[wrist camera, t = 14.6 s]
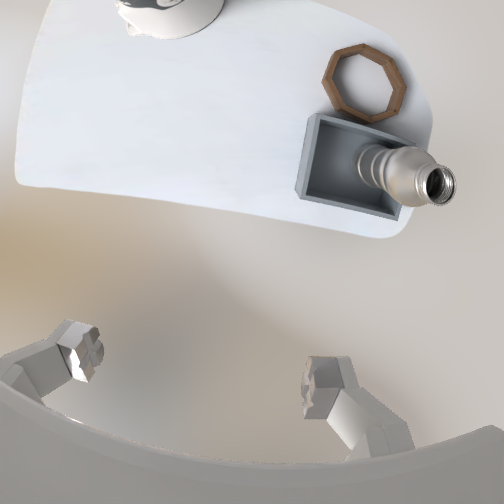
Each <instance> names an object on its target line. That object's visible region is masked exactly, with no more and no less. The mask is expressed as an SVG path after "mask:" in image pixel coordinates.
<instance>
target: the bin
mask: <svg viewBox="0 0 504 504" xmlns="http://www.w3.org/2000/svg"><path fill="white" fill-rule="evenodd" d="M369 143H376V144H380V145H382V146H384V147H386V148H388V149H397V148H401V147H408V146H412V147H415V143H412V142H410V141H407V140H404V139H402V138H399V137H396V136H393V135H390V134H388V133H385V132H382V131H379V130H376V129H372V128H369V127H366V126H363V125H359V124H356V123H353V122H349V121H345V120H342V119H338V118H334V117H330V116H326V115H322V114H318V113H316V114H314V115H313V116H311V117H309V118H308V123H307V128H306V134H305V139H304V145H303V150H302V155H301V161H300V166H299V171H298V176H297V181H296V186H295V191H296V193H297V194H298V196H299V198H300V199H303V200H308V201H313V202H318V203H323V204H327V205H332V206H337V207H341V208H346V209H350V210H354V211H359V212H363V213H367V214H371V215H375V216H379V217H383V218H387V219H391V220H395V221H398V218H399V214H400V210H401V207H402V204H400V203H399V202H397V201H396V200H395V199H393V198H392V197H391V196H390V195H389V194H388V193H387V192H386V191H385V190H383V189H381V188H371V187H367V186H365V185H363V184H361V183H360V182H359V181H358V180H357V178H356V177H355V176H354V174H353V172H352V168H351V159H352V156H353V154H354V152H355V151H356V150H357V149H358V148H359V147H361V146H363V145H365V144H369Z"/></svg>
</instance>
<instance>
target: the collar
mask: <svg viewBox="0 0 504 504" xmlns="http://www.w3.org/2000/svg"><path fill="white" fill-rule="evenodd" d="M356 54H360V55H362V56H364V57H366V58H368V59H370V60H372V61H374V62H376V63H378V64H379V65H381V66H382V67H383V69H384V71H385V73H386V75H387V77H388V79H389V81H390V83H391V85H392V87H393V92H392V95H391V98H390V101H389V104H388V107H387V110H386V111H385V112H382V113H379V114H376V115H373V116H370V117H369V116H367V115H365V114H363V113H361V112H359V111H357V110H355V109H353V108H351V107H349V106H347V105H345V104H344V102H343V100H342V98H341V96H340V94H339V92H338V90H337V88H336V86H335V84H334V82H333V80H332V76H333V73H334V70H335V67H336V65H337V62H338V59H342V58H345V57H349V56H352V55H356ZM322 84H323V86H324V88H325V90H326V92H327V94H328V96H329V98H330V100H331V102H332V104H333V107H334V109H335V111H337V112H339V113H342V114H344V115H346V116H348V117H350V118H352V119H355V120H357V121H359V122H361V123H363V124H369V123H373V122H376V121H379V120H382V119H385V118H388V117H391V116H394V115H397V114H398V112H399V109H400V106H401V103H402V100H403V97H404V94H405V91H406V88H407V87H406V85H405V83H404V81H403V79H402V77H401V74H400V72H399V70H398V68H397V66H396V64H395V62H394V60H393V59H392V58H391V57H389V56H387V55H385V54H383V53H382V52H380V51H378V50H376V49H374V48H372V47H370V46H368V45H366V44H364V43H363V44H359V45H355V46H351V47H347V48H344V49H340V50H337V51H335V52H334V53H333V55H332V56H331V58H330V61H329V63H328V66H327V69H326V71H325V74H324V77H323V79H322Z"/></svg>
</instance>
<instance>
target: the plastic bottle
mask: <svg viewBox="0 0 504 504" xmlns="http://www.w3.org/2000/svg"><path fill="white" fill-rule="evenodd" d="M351 168H352V172H353V174H354V176H355V177H356V178H357V180H358V181H359V182H360V183H361V184H363V185H365V186H367V187H371V188H381V189H383V190H385V191H386V192H387V193H388V194H389V195H390V196H391V197H392V198H393V199H395V200H396V201H397V202H399V203H400V204H402V205H405V206H408V207H418V206H423V205H425V204H427V203H431V204H434V205H437V206H443V205H445V204H448V203H449V202H450V201H451V200H452V198H453V197H454V195H455V191H456V180H455V176H454V175H453V173H452V171H450V169H449V168H447V167H445V166H442V165H439V164H437V163H436V161H435V160H434V158H433V157H432V156H431V155H430V154H428V153H427V152H426V151H425V150H423V149H421V148H418V147H412V146H408V147H401V148H397V149H388V148H386V147H384V146H382V145H380V144H376V143H369V144H365V145H363V146H361V147H359V148H358V149H357V150H356V151H355V152H354V154H353V156H352V159H351Z"/></svg>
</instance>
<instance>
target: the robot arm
mask: <svg viewBox="0 0 504 504" xmlns="http://www.w3.org/2000/svg"><path fill="white" fill-rule="evenodd" d="M117 1H118V2H116V7H117V8H118V9H120V10H119V14H120V15H121V16H122V17H123V18H125V21H126V27H127V32H128V33H129V34H130V35H131V36H142V35H148V36H152V37H155V38H159V39H177V38H182V37H185V36H188V35H191V34H193V33H195V32H197V31H199V30H201V29H203V28H204V27H206V26H207V25H208V24H209V23H211V22H212V21H213V20H214V19H215V18H216V16H217V15H218V14H219V12H220V11H221V9H222V6H223V4H224V0H117ZM132 25H133V26H132ZM99 336H100V334H99V330H98V328H96V327H95V326H91V325H88V324H84V323H81V322H77V321H73V320H70V319H66V320H64V321H63V322H62V323H61V324H60V325H59V327H58V328H57V329H56V330H55V331H54V332H53V333H52V334H51V335H50V336H49V337H48V339H47V340H44V339H43V340H41V341H38V342H36V343H33V344H31V345H28V346H26V347H23V348H20V349H18V350H15V351H13V352H10V353H8V354H5V355H3V356H2V357H1V358H0V504H504V431H503V430H501V429H499V428H497V427H495V426H493V425H491V426H490V425H489V426H485V427H482V428H480V429H477V430H475V431H472V432H470V433H467V434H464V435H461V436H458V437H456V438H452V439H449V440H446V441H443V442H440V443H436V444H433V445H429V446H425V447H422V448H418V449H415V446H414V443H413V440H412V437H411V434H410V431H409V429H408V426H407V423H406V422H405V421H404V420H403V419H401V418H400V417H399V416H397V415H396V414H395V413H394V412H392V411H391V410H390V409H389V408H387V407H386V406H385V405H384V404H383V403H381V402H380V401H379V400H378V399H376V398H375V397H374V396H373V395H371V394H370V393H369V392H368V391H367V390H365V389H364V388H360V387H359V384H358V381H357V378H356V375H355V372H354V368H353V365H352V362H351V359H350V357H348V356H339V357H338V356H336V357H323V356H322V357H321V356H309V357H308V359H307V363H306V367H307V370H306V371H305V372H304V373H303V377H302V384H301V393H302V397H303V398H304V402H303V415H304V419H327V421H328V423H329V424H330V425H331V427H332V428H333V429H334V430H335V431H336V432H337V434H338V435H339V436H340V437H341V439H342V440H343V441H344V442H345V443H346V445H347V446H348V447H349V448H350V449H351V452H350V453H349V455H348V456H347V457H346V458H345V460H344V461H338V462H325V463H300V464H299V463H297V464H285V463H282V464H281V463H256V462H242V461H232V460H224V459H216V458H209V457H203V456H197V455H191V454H186V453H181V452H175V451H171V450H167V449H162V448H158V447H154V446H150V445H146V444H143V443H139V442H136V441H132V440H129V439H125V438H122V437H119V436H116V435H113V434H110V433H107V432H104V431H102V430H99V429H96V428H94V427H91V426H88V425H86V424H83V423H81V422H78V421H76V420H74V419H71V418H69V417H67V416H65V415H63V414H61V413H58V412H56V411H54V410H52V409H50V408H48V407H46V406H45V404H44V402H43V401H42V399H41V398H42V397H44V396H45V395H47V394H49V393H50V392H52V391H53V390H55V389H56V388H58V387H59V386H61V385H63V384H64V383H66V382H67V381H69V380H70V379H72V378H75V379H78V380H81V381H84V382H87V383H88V382H89V380H90V379H91V377H92V376H93V374H94V373H95V370H94V367H96V366H98V365H100V363H101V362H102V360H103V356H104V347H103V344H102V342H101V341H100V340H99V339H98V338H99Z"/></svg>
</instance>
